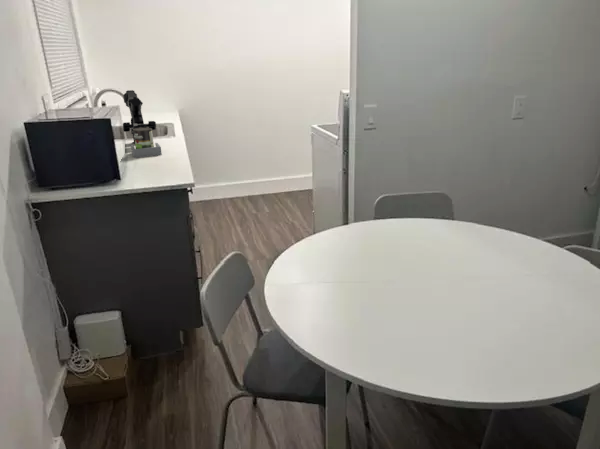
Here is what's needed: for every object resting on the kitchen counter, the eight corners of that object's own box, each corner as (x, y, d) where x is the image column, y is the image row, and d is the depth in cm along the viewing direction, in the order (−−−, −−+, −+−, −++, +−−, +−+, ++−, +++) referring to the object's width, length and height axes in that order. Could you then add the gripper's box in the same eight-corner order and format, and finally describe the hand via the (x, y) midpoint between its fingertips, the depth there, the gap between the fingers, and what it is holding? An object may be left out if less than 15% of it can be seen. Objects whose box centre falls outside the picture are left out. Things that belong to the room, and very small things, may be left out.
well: (131, 153, 270) (130, 145, 269) (158, 150, 276) (157, 142, 274) (134, 157, 259) (133, 149, 258) (161, 154, 265) (160, 146, 263)
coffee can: (145, 156, 262) (141, 131, 257) (132, 154, 267) (128, 129, 262) (159, 152, 271) (155, 128, 265) (146, 150, 275) (143, 126, 270)
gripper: (152, 123, 293) (157, 144, 288) (121, 125, 285) (125, 146, 280) (153, 112, 283) (158, 133, 278) (120, 114, 276) (125, 136, 271)
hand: (142, 137), depth 277 cm, fingers closed
